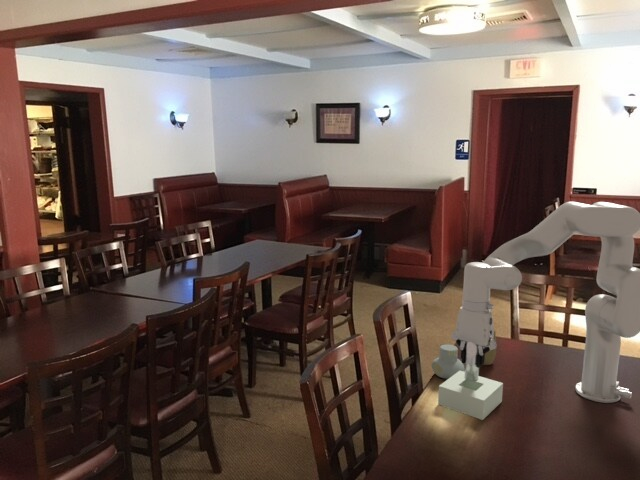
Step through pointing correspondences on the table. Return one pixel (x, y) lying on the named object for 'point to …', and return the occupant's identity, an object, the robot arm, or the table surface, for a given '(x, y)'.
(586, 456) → the table surface
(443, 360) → the air freshener
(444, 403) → the socket block
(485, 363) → the squeeze bottle
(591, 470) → the table surface
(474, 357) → the steel peg
